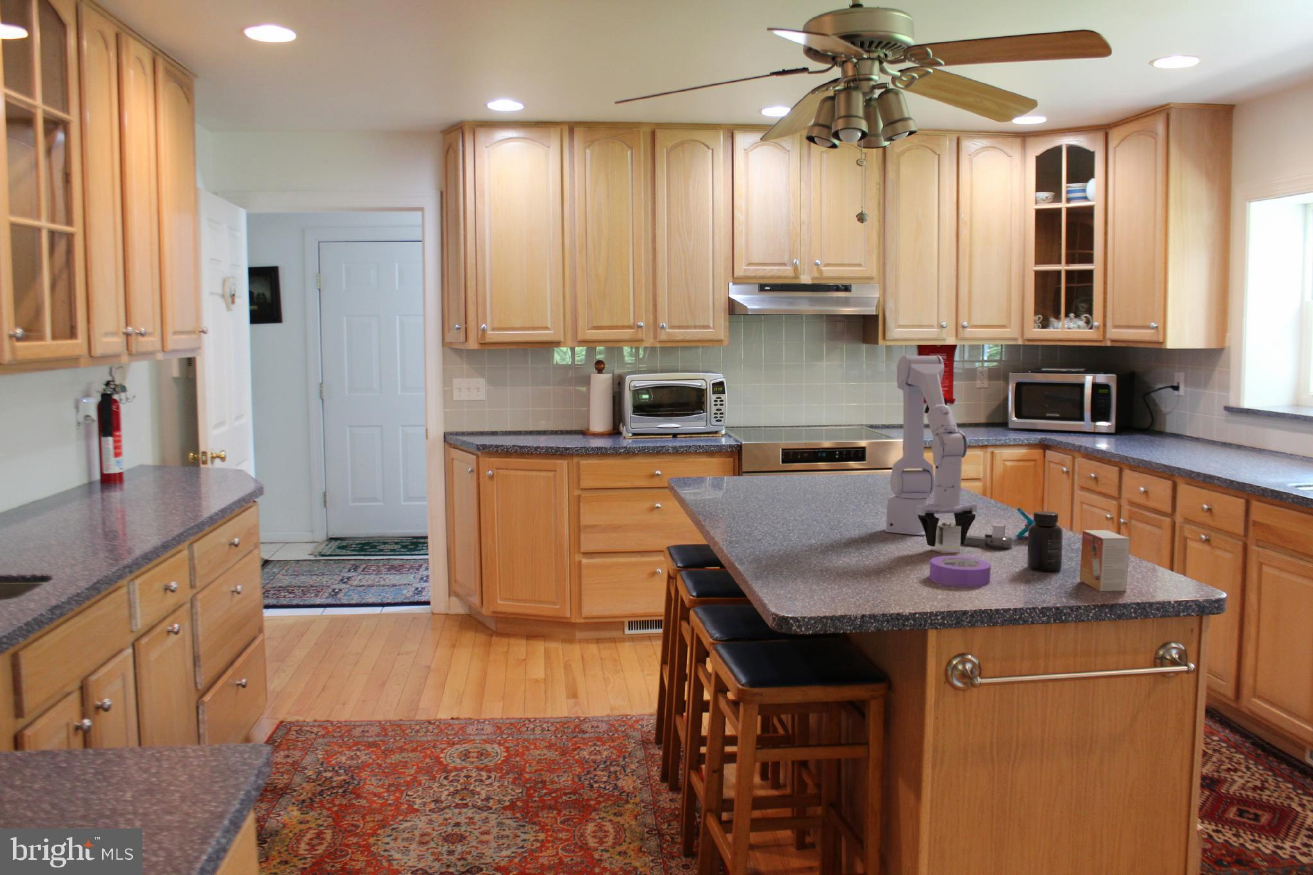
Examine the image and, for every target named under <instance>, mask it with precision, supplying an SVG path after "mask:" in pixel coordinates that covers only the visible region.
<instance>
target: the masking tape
mask: <svg viewBox="0 0 1313 875" xmlns="http://www.w3.org/2000/svg"><path fill="white" fill-rule="evenodd" d="M929 564H930V565H929V579H930V580H931V581H932V580H933V582H934V581H935V582H934V583H937V584H940V583H941V585H944V586H950V585H952V586H951V587H959V586H964V587H963V588H974V587H975V586H978V587H984V586H987V585H989V584H990V583H991V569H992V568H991V567H992V565H991V563H990V562H988V561H986V560H984V559H980V558H976V557H971V556H965V555H964V556H963V555H942V556H935V557H932V558H931V559H930V562H929ZM965 586H966V587H965ZM975 588H976V587H975Z"/></svg>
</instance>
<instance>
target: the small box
mask: <svg viewBox="0 0 1313 875" xmlns="http://www.w3.org/2000/svg"><path fill="white" fill-rule="evenodd" d="M1130 542H1131V538H1130V537H1127V536H1123V535H1121V534H1118V533H1116V532H1113V531H1111V530H1109V529H1101V530H1100V529H1099V530H1098V529H1096V530H1095V529H1093V530H1091V529H1087V530H1086V529H1085V530H1084V529H1083V530H1082V537H1081V550H1080V551H1081V554H1080V567H1079V568H1080V569H1079V570H1080V571H1079V581H1080V582H1081V583H1084V584H1086V585H1088V586H1090V587H1092V588H1094V589H1095V590H1097V591H1099V592H1125V591H1127V587H1128V576H1129V575H1128V574H1129V560H1130V557H1129V556H1130V544H1131V543H1130Z"/></svg>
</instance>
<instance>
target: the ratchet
mask: <svg viewBox="0 0 1313 875" xmlns="http://www.w3.org/2000/svg"><path fill="white" fill-rule="evenodd" d="M962 545H963V546H972V547H983V548H986V549H990V550H1000V551H1001V550H1002V551H1003V550H1004V551H1007V550H1011V549H1013V537H1011V536H1007V535H1006V524H1003V523H993V525H992V534H991V533H990V534H988V533H987V534H986V533H985V534H984V536H979V535H968V534H967V535H966V538H965V542H964V544H962ZM962 545H961V544H960V546H962Z"/></svg>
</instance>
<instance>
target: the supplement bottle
mask: <svg viewBox="0 0 1313 875" xmlns="http://www.w3.org/2000/svg"><path fill="white" fill-rule="evenodd" d="M1032 520H1033V521H1035V523H1034V524H1032V525H1031V526H1030V527H1029V529H1028V532H1027V564H1026V566H1027V567H1028V569H1030V570H1032V571H1036V572H1041V573H1042V572H1043V573H1046V572H1047V573H1056V572H1060V571H1061V570H1062V567H1063V566H1062V564H1063V535H1064V533H1063V532H1064V531H1063V528H1062V527H1061V526H1059V524H1058V523H1059V513H1058V512H1055V511H1047V510H1046V511H1045V510H1044V511H1043V510H1040V511H1039V510H1038V511H1034V512H1033V519H1032Z"/></svg>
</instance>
